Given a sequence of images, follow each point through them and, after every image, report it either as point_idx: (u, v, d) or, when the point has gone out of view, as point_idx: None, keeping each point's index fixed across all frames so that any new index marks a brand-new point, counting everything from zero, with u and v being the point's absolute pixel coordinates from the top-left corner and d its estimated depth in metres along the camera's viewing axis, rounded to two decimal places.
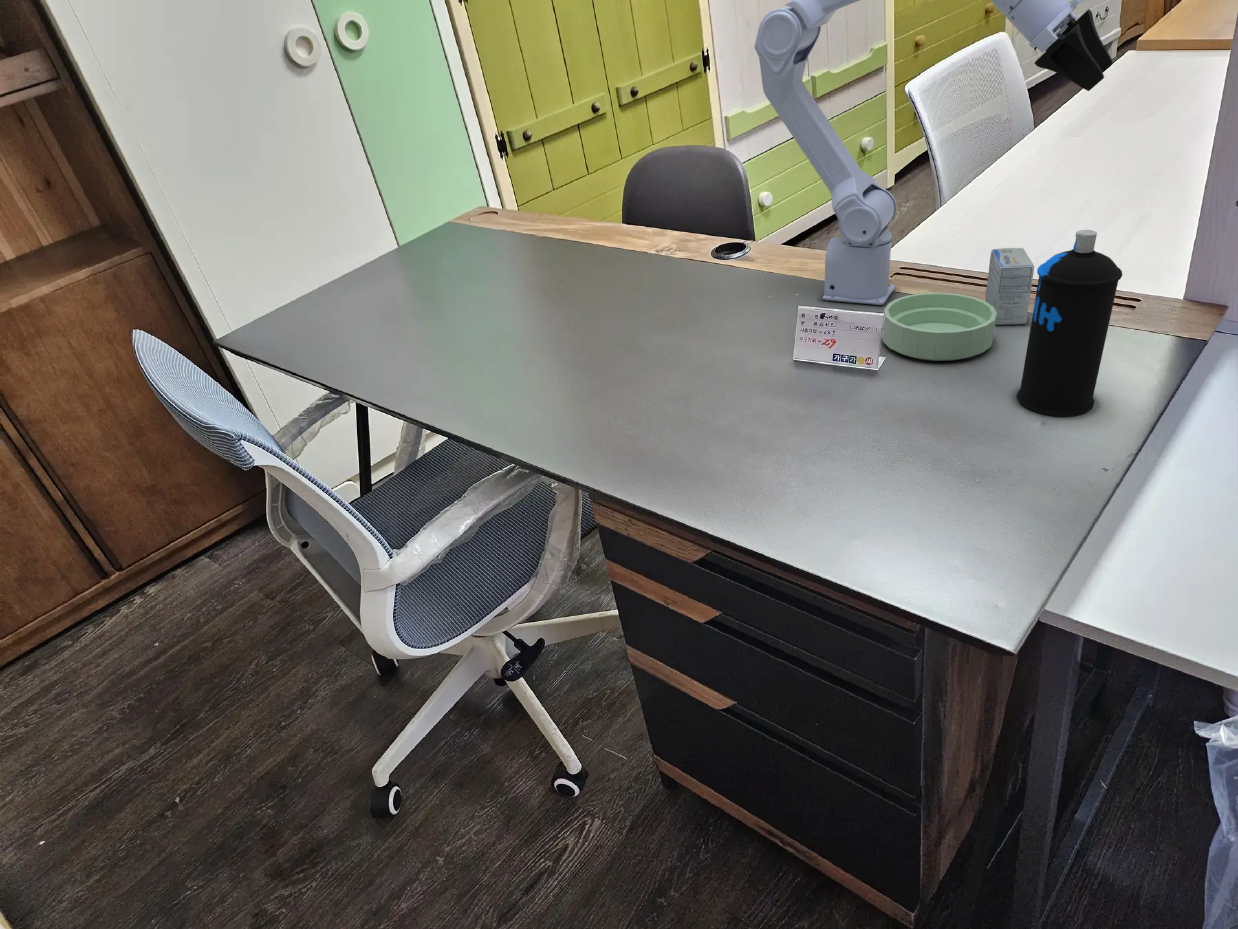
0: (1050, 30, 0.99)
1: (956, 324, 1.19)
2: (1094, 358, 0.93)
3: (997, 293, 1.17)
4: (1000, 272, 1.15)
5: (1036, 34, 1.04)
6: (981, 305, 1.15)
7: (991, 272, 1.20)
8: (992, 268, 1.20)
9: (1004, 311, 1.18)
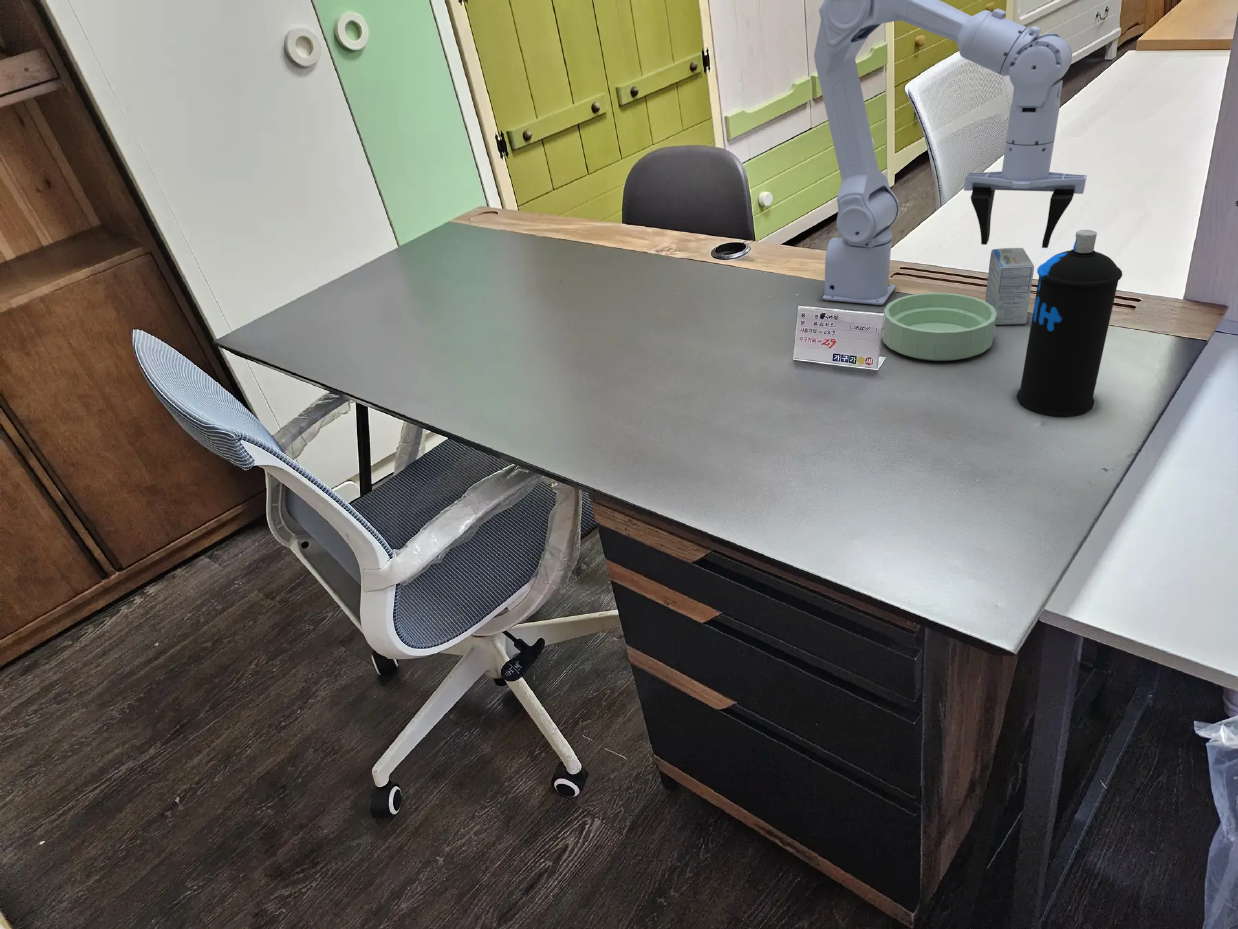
0: (968, 181, 1.14)
1: (956, 324, 1.19)
2: (1094, 358, 0.93)
3: (997, 293, 1.17)
4: (1000, 272, 1.15)
5: None
6: (981, 305, 1.15)
7: (991, 272, 1.20)
8: (992, 268, 1.20)
9: (1004, 311, 1.18)
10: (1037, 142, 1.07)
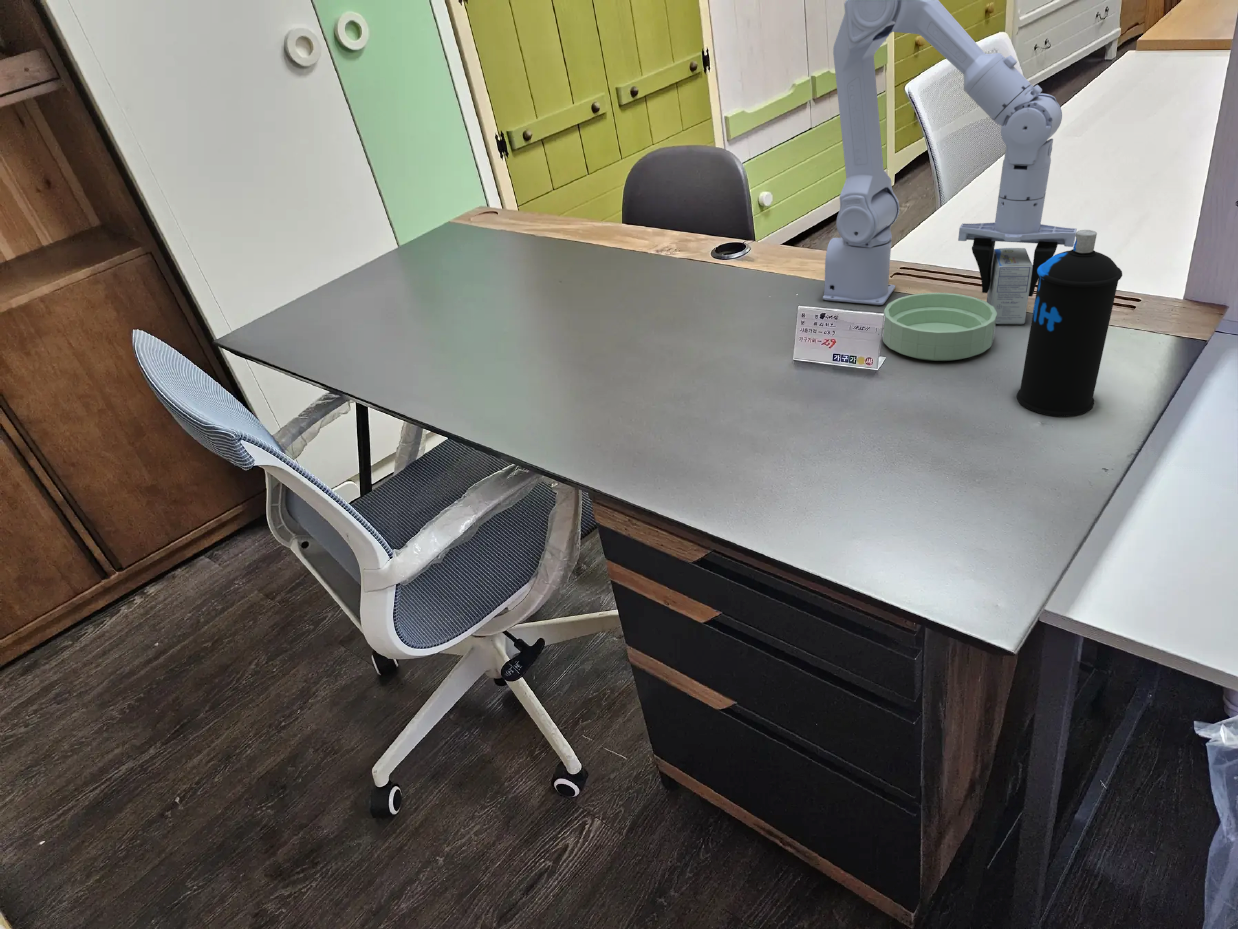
0: (962, 232, 1.18)
1: (956, 324, 1.19)
2: (1094, 358, 0.93)
3: (995, 292, 1.17)
4: (998, 271, 1.15)
5: None
6: (981, 305, 1.15)
7: (992, 271, 1.20)
8: (993, 267, 1.20)
9: (1002, 310, 1.18)
10: (1028, 198, 1.10)
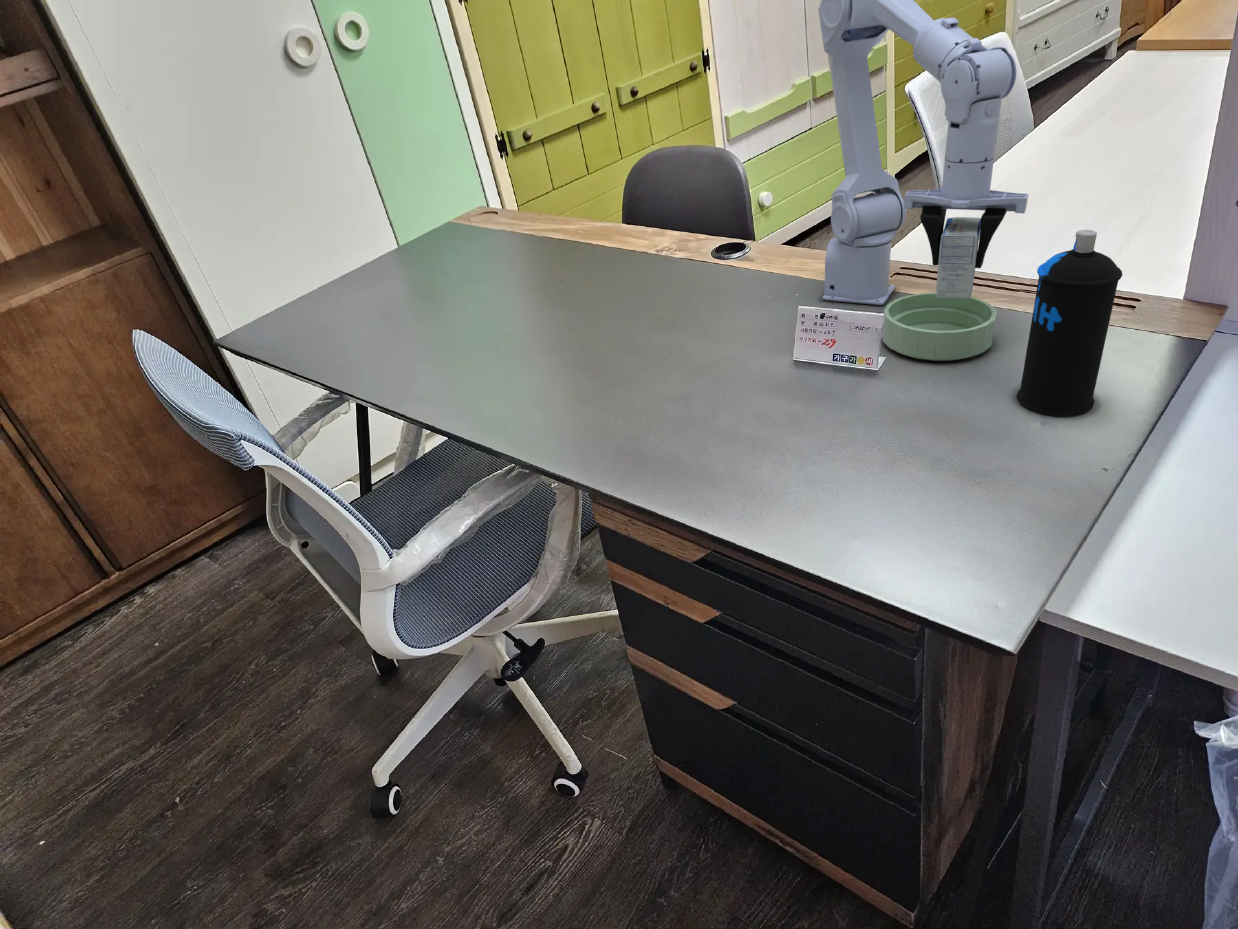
0: (908, 199, 1.10)
1: (956, 324, 1.19)
2: (1094, 358, 0.93)
3: (939, 263, 1.09)
4: (941, 240, 1.08)
5: None
6: (981, 305, 1.15)
7: None
8: None
9: (946, 283, 1.10)
10: (963, 160, 1.03)
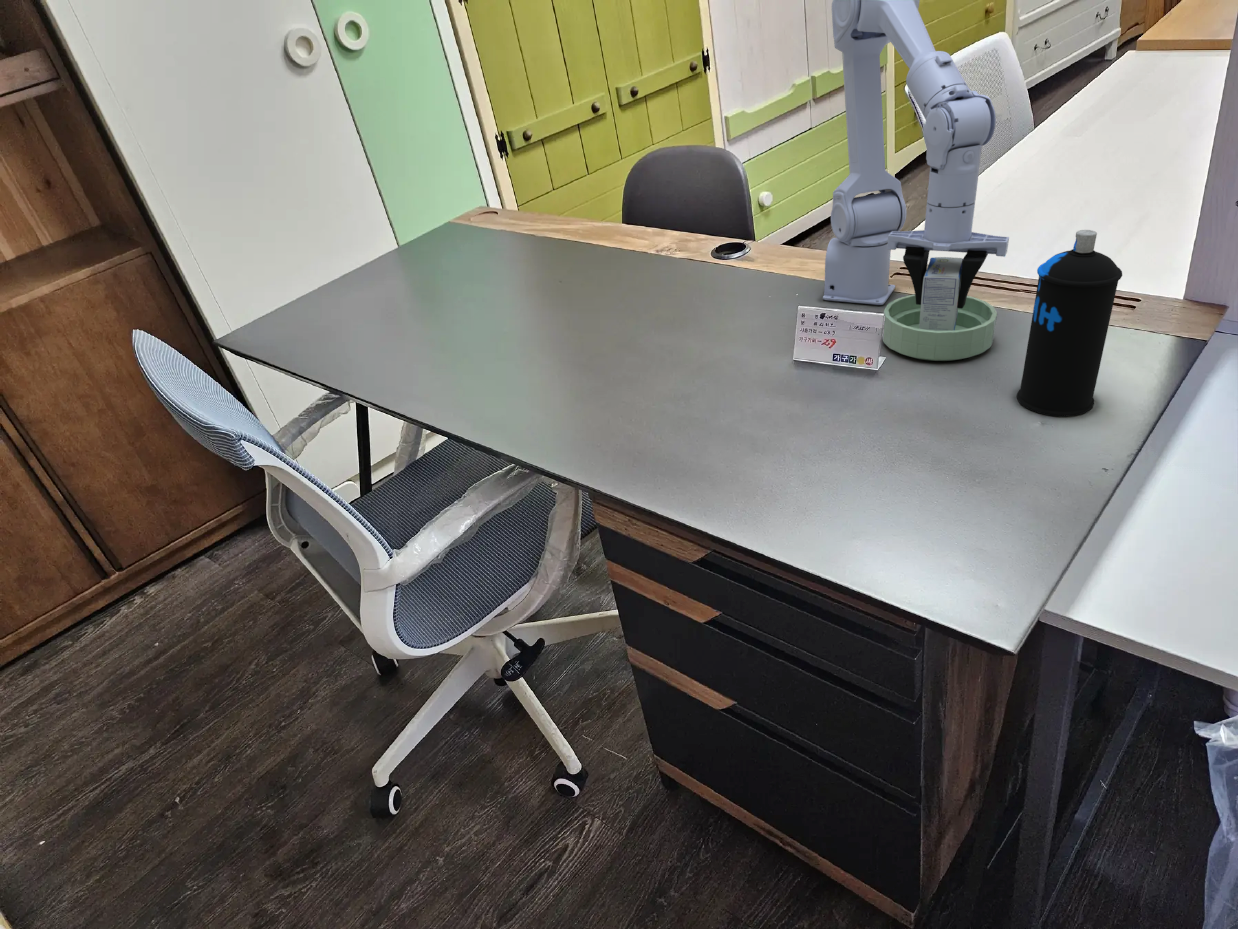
0: (891, 240, 1.11)
1: (956, 324, 1.19)
2: (1094, 358, 0.93)
3: (921, 303, 1.11)
4: (924, 281, 1.09)
5: None
6: (981, 305, 1.15)
7: None
8: None
9: (929, 323, 1.11)
10: None
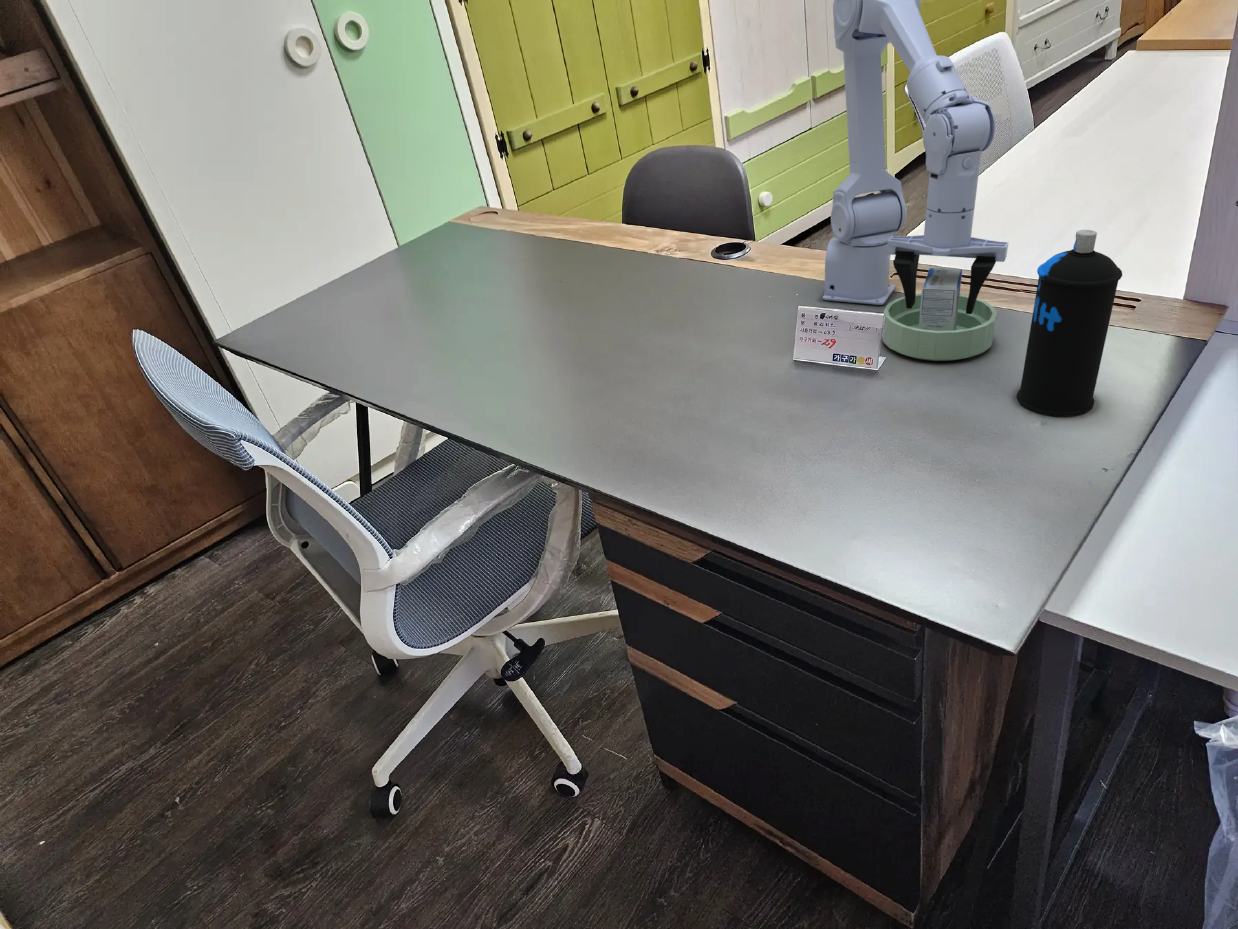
0: (891, 245, 1.12)
1: None
2: (1094, 358, 0.93)
3: (920, 314, 1.11)
4: (922, 293, 1.10)
5: None
6: (981, 305, 1.15)
7: None
8: None
9: None
10: (941, 210, 1.05)
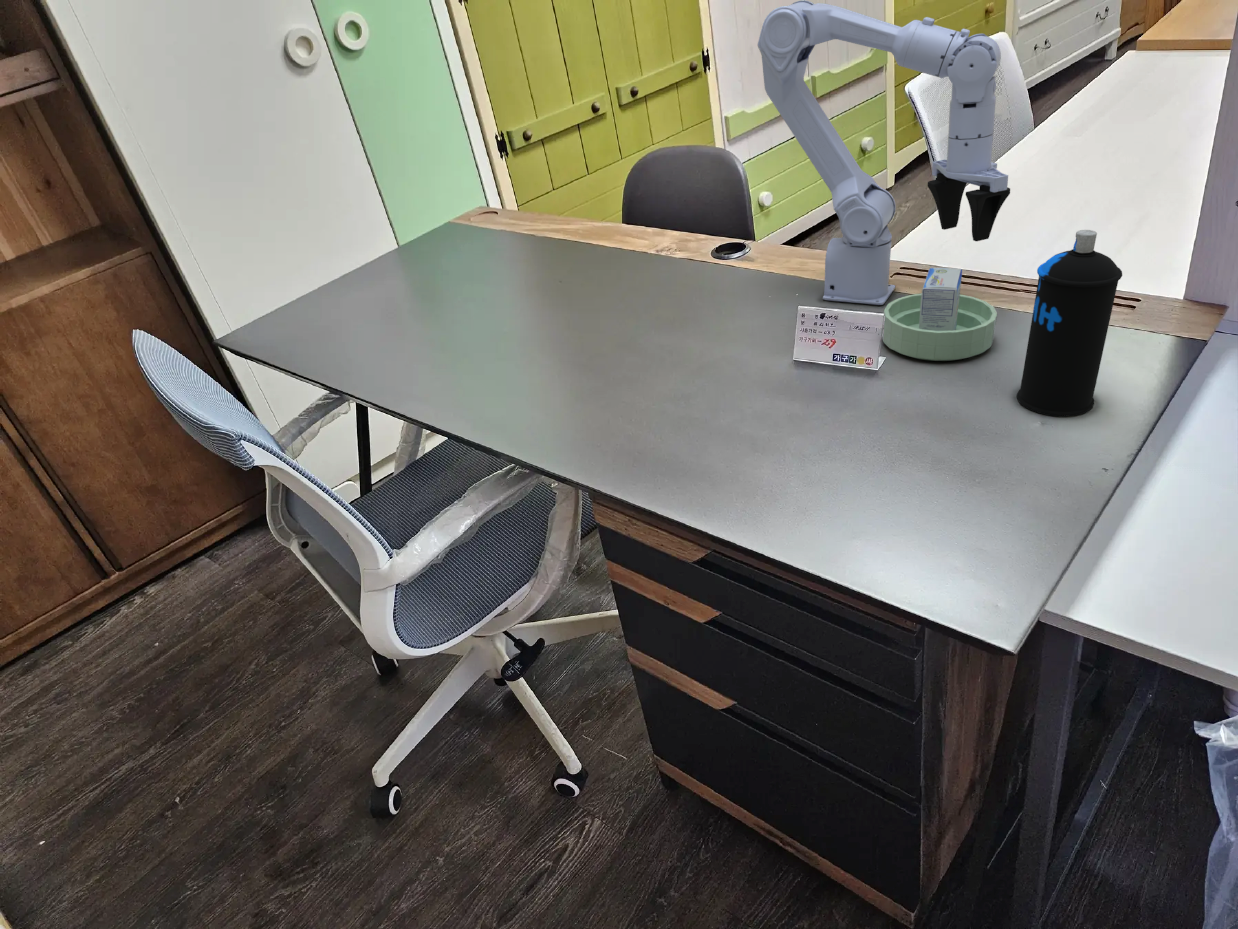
0: None
1: None
2: (1094, 358, 0.93)
3: (920, 314, 1.11)
4: (922, 293, 1.10)
5: (971, 171, 1.15)
6: (981, 305, 1.15)
7: None
8: None
9: None
10: (979, 135, 1.13)
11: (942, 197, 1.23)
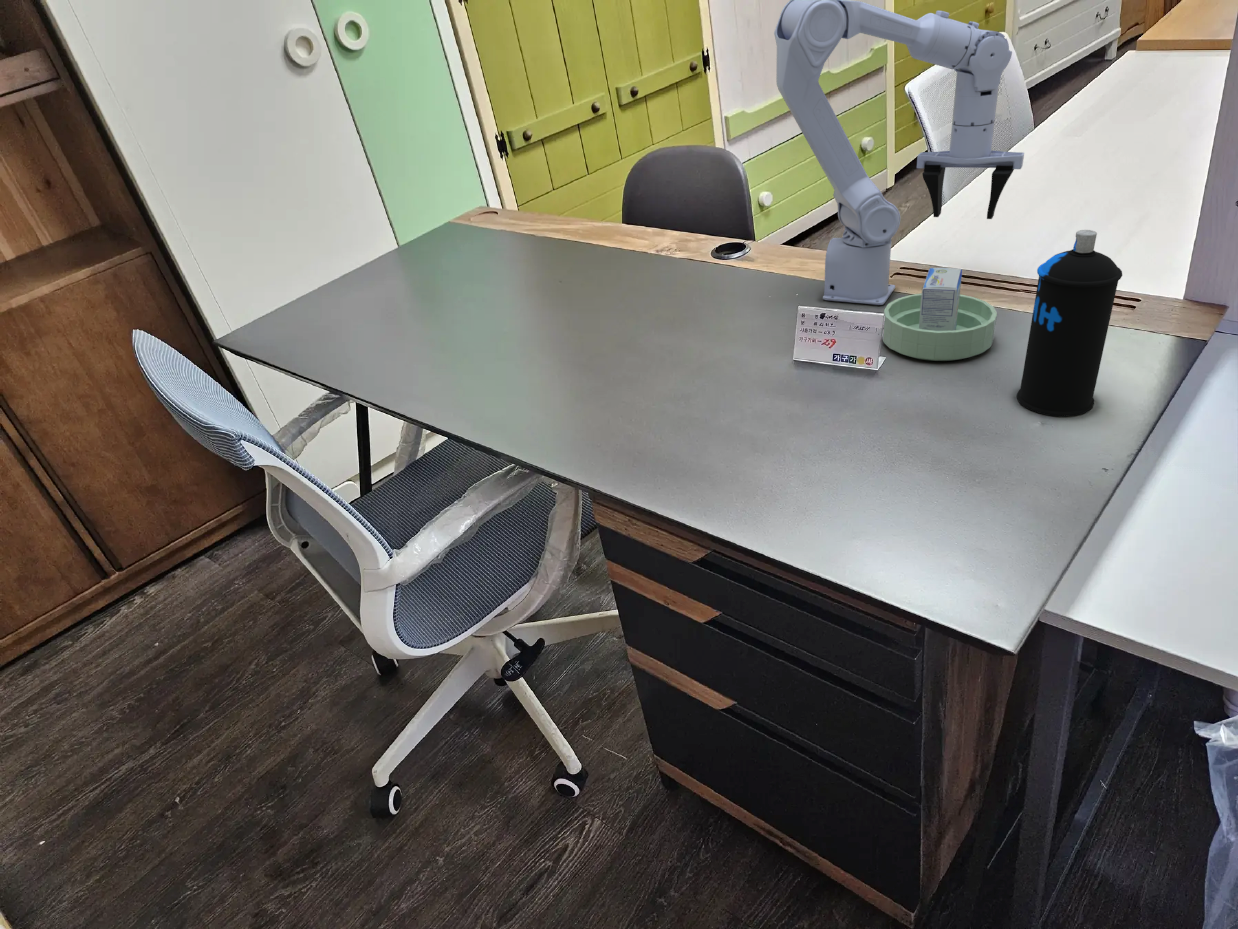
0: None
1: None
2: (1094, 358, 0.93)
3: (920, 314, 1.11)
4: (922, 293, 1.10)
5: (987, 154, 1.22)
6: (981, 305, 1.15)
7: None
8: None
9: None
10: (990, 121, 1.20)
11: (939, 186, 1.27)
